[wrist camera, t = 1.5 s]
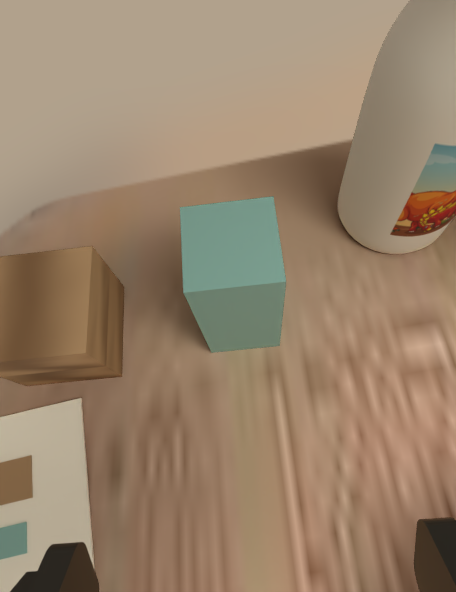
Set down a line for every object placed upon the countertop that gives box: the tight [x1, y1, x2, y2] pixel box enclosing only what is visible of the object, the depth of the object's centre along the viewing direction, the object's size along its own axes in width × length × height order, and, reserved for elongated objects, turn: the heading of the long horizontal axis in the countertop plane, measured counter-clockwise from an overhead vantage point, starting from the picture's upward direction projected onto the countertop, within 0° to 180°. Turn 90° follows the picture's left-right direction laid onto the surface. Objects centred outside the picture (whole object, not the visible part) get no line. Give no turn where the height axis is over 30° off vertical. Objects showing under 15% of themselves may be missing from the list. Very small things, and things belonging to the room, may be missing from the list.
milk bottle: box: [338, 0, 456, 254], centre depth 21 cm, size 8×8×20 cm
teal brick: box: [180, 196, 286, 353], centre depth 23 cm, size 4×4×10 cm
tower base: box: [0, 246, 124, 386], centre depth 26 cm, size 6×6×6 cm
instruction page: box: [0, 398, 95, 592], centre depth 24 cm, size 9×12×1 cm
